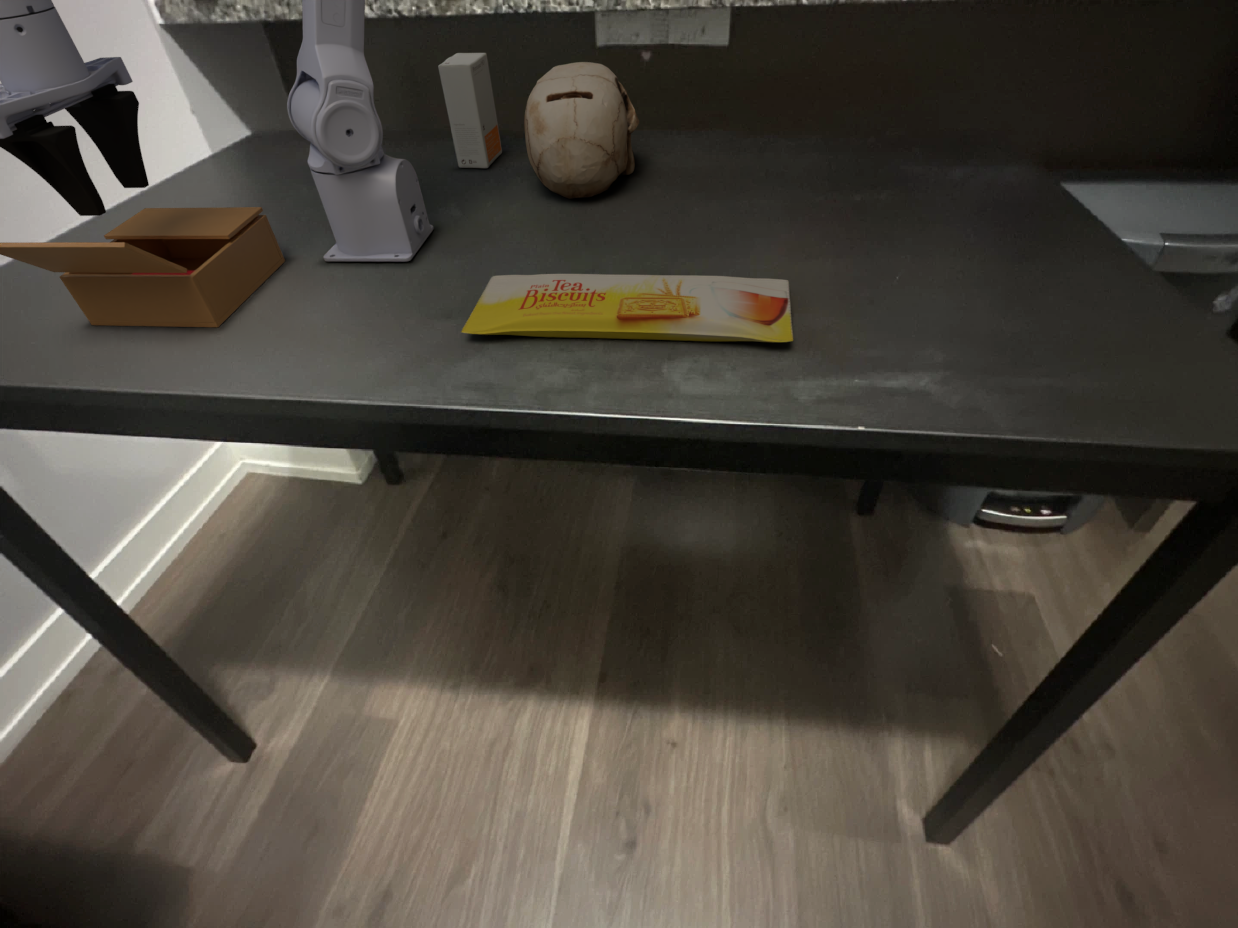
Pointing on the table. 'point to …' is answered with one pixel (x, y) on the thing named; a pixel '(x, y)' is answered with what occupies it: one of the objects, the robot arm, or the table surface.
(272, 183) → the table surface
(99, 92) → the robot arm
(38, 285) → the table surface
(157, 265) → the flap
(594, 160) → the coin bank
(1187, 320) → the table surface
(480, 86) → the cosmetic box
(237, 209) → the carton
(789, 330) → the food package
